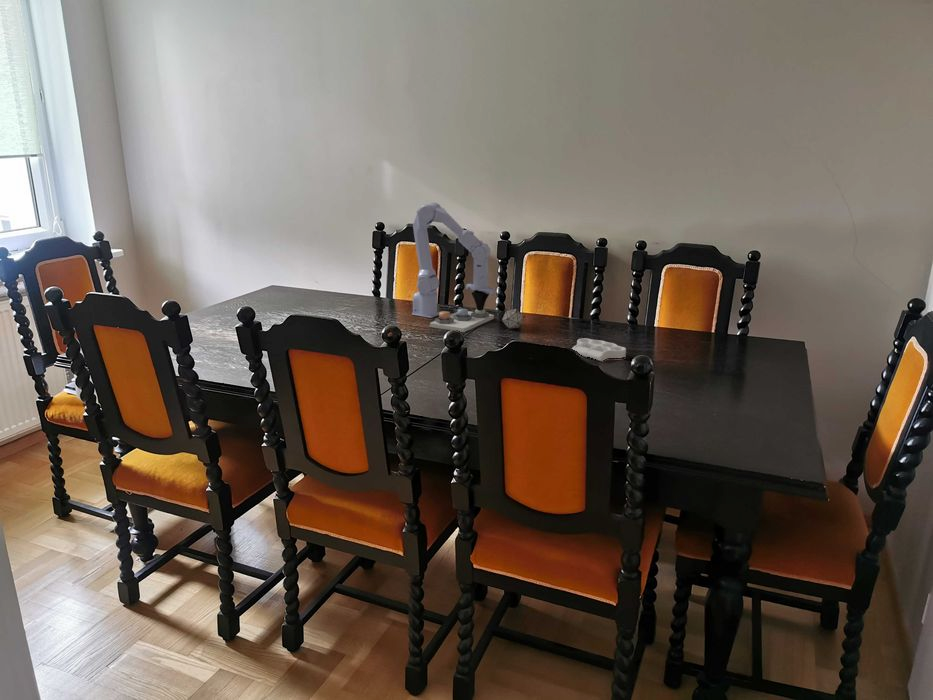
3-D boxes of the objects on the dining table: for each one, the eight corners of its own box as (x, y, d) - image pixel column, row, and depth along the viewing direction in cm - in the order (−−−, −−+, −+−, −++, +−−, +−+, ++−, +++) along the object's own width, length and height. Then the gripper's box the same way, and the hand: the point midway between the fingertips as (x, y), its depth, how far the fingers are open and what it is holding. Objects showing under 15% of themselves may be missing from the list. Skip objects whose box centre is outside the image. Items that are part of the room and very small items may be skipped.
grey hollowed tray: (563, 353, 234) (587, 344, 244) (608, 365, 222) (632, 356, 232) (563, 343, 233) (588, 335, 243) (609, 355, 221) (633, 346, 231)
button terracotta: (437, 318, 263) (437, 312, 263) (442, 316, 266) (442, 310, 266) (446, 320, 261) (446, 314, 261) (451, 317, 265) (451, 312, 264)
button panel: (429, 326, 263) (429, 319, 262) (461, 313, 283) (461, 307, 282) (463, 332, 256) (463, 325, 255) (493, 318, 276) (493, 312, 275)
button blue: (455, 315, 268) (455, 310, 267) (460, 313, 271) (460, 308, 270) (464, 317, 266) (464, 311, 265) (469, 314, 269) (469, 309, 269)
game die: (516, 339, 261) (526, 322, 254) (495, 331, 261) (504, 314, 253) (520, 323, 267) (529, 306, 260) (499, 315, 267) (508, 297, 259)
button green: (473, 315, 273) (473, 310, 272) (477, 313, 276) (478, 308, 275) (482, 317, 271) (482, 311, 270) (486, 314, 274) (487, 309, 273)
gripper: (460, 274, 271) (460, 308, 275) (486, 279, 261) (485, 315, 265) (473, 272, 276) (473, 305, 280) (499, 277, 266) (498, 312, 270)
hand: (480, 309), depth 273 cm, fingers closed
